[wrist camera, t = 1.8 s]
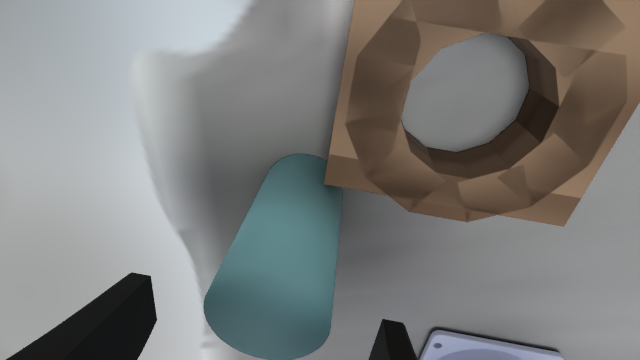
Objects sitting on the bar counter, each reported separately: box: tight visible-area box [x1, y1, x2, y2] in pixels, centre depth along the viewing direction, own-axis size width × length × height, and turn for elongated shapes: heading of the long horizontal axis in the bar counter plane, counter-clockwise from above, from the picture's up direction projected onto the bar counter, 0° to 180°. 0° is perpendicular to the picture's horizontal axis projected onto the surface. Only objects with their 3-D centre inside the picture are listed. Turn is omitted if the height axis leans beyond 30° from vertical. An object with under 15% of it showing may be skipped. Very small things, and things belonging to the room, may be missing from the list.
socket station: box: [324, 0, 640, 227], centre depth 9 cm, size 16×10×9 cm, turn 172°
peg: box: [204, 154, 343, 360], centre depth 14 cm, size 4×4×8 cm
